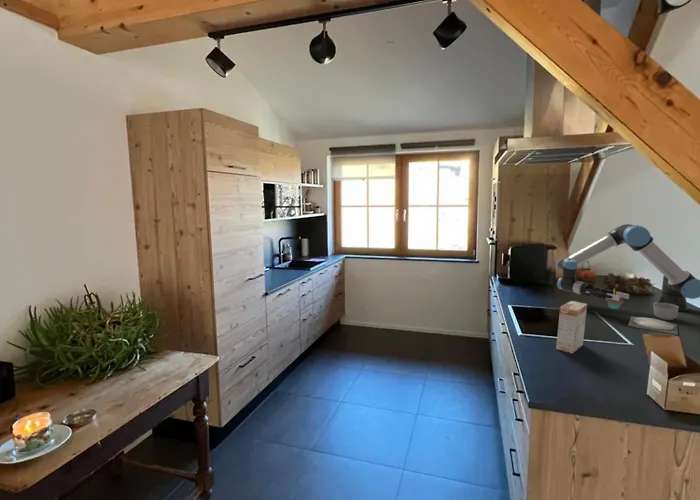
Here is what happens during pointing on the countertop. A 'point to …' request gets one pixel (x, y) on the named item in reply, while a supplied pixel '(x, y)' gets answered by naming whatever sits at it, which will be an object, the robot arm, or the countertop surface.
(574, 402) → the countertop surface
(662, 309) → the teacup
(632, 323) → the dish
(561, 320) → the coffeecake box
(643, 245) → the robot arm
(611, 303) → the cupcake
